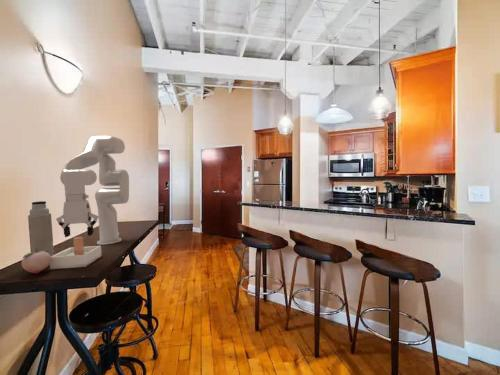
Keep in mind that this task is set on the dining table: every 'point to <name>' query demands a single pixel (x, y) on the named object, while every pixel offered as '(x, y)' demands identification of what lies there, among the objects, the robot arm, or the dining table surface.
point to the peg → (78, 246)
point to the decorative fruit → (36, 261)
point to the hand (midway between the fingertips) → (79, 235)
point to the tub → (75, 258)
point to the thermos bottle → (40, 228)
